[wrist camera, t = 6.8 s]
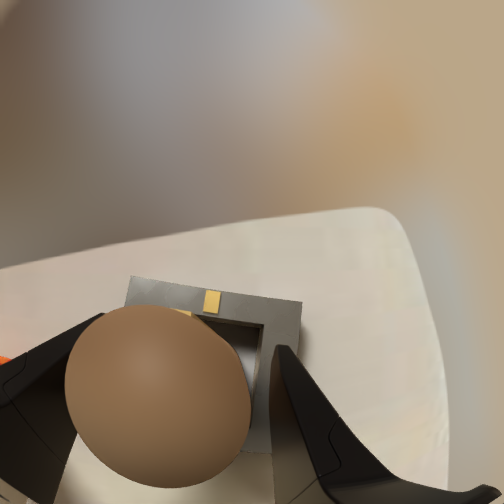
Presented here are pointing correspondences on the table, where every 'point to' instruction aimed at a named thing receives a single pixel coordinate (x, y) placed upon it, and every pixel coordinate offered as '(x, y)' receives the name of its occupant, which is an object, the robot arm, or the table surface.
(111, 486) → the table surface
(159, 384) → the walnut peg
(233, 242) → the table surface
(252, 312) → the grey square socket base
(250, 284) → the table surface
